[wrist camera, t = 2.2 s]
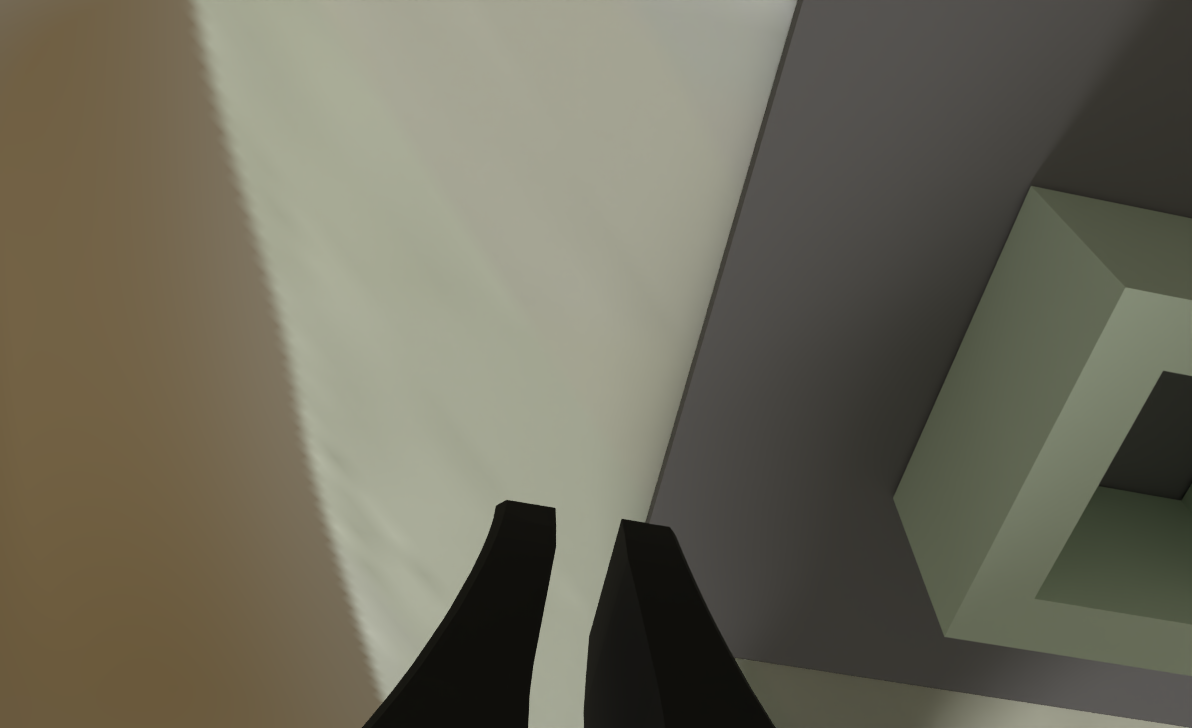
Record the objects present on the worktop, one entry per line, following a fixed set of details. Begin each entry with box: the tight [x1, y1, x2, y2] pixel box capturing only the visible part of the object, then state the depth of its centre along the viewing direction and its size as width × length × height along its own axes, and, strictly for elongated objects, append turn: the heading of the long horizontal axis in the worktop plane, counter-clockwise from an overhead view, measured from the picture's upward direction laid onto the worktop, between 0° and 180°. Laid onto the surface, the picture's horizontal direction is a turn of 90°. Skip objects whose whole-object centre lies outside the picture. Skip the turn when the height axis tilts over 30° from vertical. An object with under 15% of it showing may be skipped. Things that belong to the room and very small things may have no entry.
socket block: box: [893, 186, 1192, 676], centre depth 19 cm, size 7×7×4 cm
